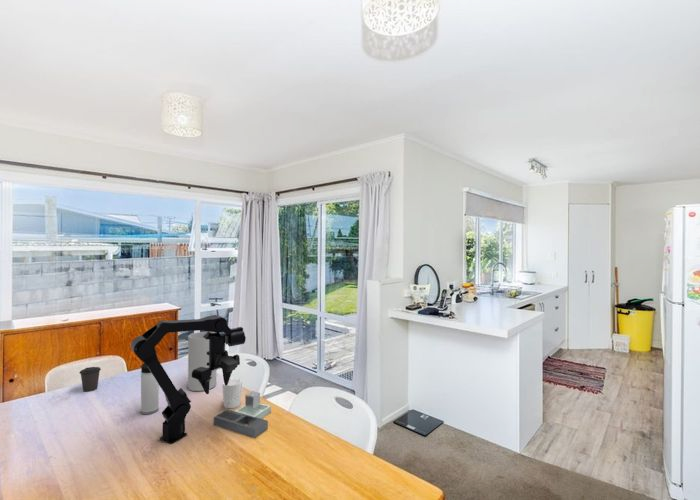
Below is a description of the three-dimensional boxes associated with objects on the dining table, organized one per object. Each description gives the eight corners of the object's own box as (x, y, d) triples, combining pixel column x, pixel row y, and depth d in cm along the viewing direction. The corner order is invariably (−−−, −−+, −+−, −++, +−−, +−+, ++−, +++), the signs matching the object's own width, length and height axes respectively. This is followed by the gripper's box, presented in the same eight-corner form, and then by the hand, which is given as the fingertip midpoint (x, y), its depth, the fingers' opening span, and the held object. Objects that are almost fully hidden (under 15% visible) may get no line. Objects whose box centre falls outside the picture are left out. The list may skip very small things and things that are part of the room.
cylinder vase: (192, 382, 171) (192, 332, 171) (218, 380, 173) (218, 331, 173) (184, 392, 159) (184, 338, 158) (213, 390, 161) (213, 337, 161)
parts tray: (254, 423, 131) (254, 416, 131) (234, 417, 136) (234, 411, 136) (270, 412, 140) (270, 406, 140) (251, 407, 145) (251, 401, 145)
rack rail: (254, 438, 122) (254, 429, 122) (213, 424, 130) (213, 416, 130) (267, 428, 128) (267, 420, 128) (227, 416, 137) (227, 409, 137)
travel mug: (162, 407, 144) (162, 360, 144) (152, 415, 138) (152, 365, 137) (148, 406, 145) (148, 359, 144) (137, 414, 138) (137, 364, 138)
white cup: (238, 409, 143) (238, 385, 143) (219, 409, 143) (219, 385, 143) (244, 400, 151) (244, 378, 151) (226, 400, 151) (226, 378, 151)
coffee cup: (83, 387, 164) (83, 366, 164) (103, 385, 167) (103, 364, 167) (76, 394, 156) (76, 372, 156) (97, 391, 159) (96, 370, 159)
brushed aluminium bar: (253, 417, 135) (253, 396, 135) (245, 414, 137) (245, 394, 137) (260, 412, 139) (260, 392, 139) (252, 410, 141) (252, 391, 141)
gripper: (213, 359, 119) (213, 403, 120) (250, 345, 136) (250, 384, 136) (190, 354, 124) (190, 397, 124) (229, 341, 141) (229, 379, 141)
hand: (217, 389), depth 132 cm, fingers open, 9 cm apart
